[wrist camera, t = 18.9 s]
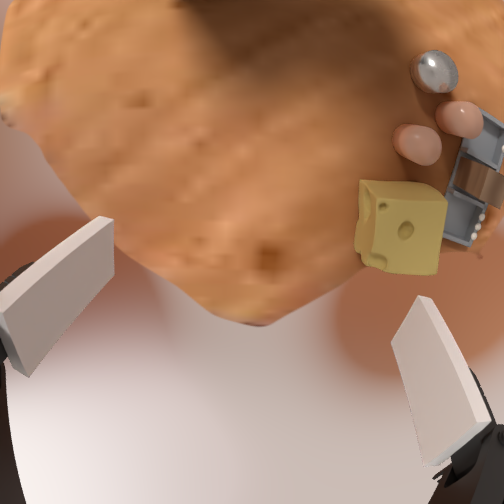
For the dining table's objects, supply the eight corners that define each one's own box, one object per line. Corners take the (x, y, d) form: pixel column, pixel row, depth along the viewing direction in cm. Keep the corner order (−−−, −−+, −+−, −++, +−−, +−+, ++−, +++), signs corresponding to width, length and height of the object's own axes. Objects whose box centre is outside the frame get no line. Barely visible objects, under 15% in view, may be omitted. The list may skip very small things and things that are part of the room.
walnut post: (452, 183, 37) (479, 199, 30) (460, 156, 35) (489, 167, 28) (472, 192, 37) (500, 209, 30) (481, 166, 35) (510, 179, 28)
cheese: (352, 244, 45) (365, 278, 36) (356, 174, 40) (375, 192, 31) (413, 245, 43) (437, 277, 34) (422, 178, 38) (453, 198, 30)
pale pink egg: (439, 95, 33) (459, 95, 27) (465, 109, 32) (486, 111, 27) (431, 126, 35) (450, 129, 29) (457, 139, 35) (478, 144, 29)
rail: (470, 106, 32) (479, 107, 30) (503, 127, 32) (512, 129, 30) (431, 229, 42) (437, 235, 39) (464, 241, 41) (471, 248, 39)
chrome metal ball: (413, 47, 30) (423, 43, 27) (448, 64, 30) (460, 61, 26) (406, 84, 33) (417, 82, 29) (441, 99, 33) (454, 99, 29)
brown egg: (397, 118, 35) (413, 120, 30) (427, 131, 35) (445, 135, 30) (388, 151, 38) (402, 157, 32) (417, 162, 38) (435, 171, 32)
